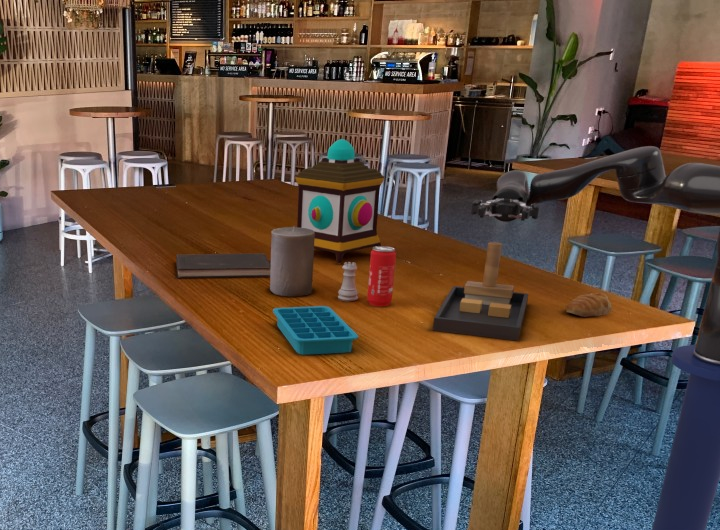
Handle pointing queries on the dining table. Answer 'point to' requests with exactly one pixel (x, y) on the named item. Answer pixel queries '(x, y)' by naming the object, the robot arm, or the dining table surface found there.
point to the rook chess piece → (348, 283)
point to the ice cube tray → (315, 330)
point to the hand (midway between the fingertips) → (502, 214)
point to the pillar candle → (292, 261)
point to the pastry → (590, 305)
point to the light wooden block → (470, 305)
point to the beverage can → (381, 276)
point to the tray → (480, 318)
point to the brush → (490, 281)
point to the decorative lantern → (340, 201)
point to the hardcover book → (222, 265)
